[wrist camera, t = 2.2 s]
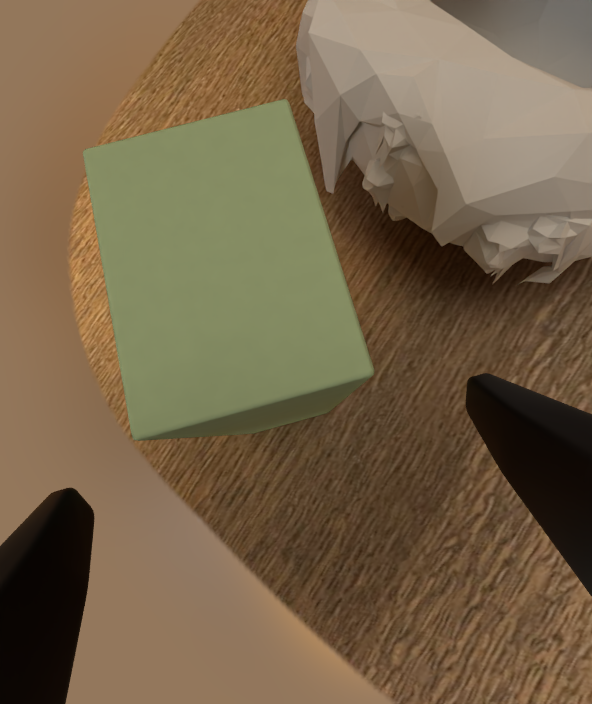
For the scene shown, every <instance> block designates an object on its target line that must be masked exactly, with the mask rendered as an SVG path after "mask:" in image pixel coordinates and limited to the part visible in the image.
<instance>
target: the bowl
mask: <svg viewBox="0 0 592 704" xmlns="http://www.w3.org/2000/svg"><path fill="white" fill-rule="evenodd" d="M296 50H297V58H298V65H299V73H300V81H301V89H302V96H303V97H304V103H305V104H306V105H307V106H308V107H309V108H310V109H311V110H312V112H313V113H314V119H315V127H316V133H317V139H318V145H319V151H320V156H321V162H322V168H323V174H324V180H325V186H326V191H328V192H330V193H332V194H333V192H334V188H335V184H336V182H337V180H338V179H339V177H340V176H341V174H342V173H343V171H344V169H345V168H346V166H347V165H348V163H349V162H350V160H353V161H354V162H355V163H356V165H357V166H358V167H359V168H360V170H361V171H362V172H363V174H364V175H365V176H364V179H363V183H362V185H363V189H365V190H367V191H368V192H369V193H370V194H371V195H372V196H373V200H374V203H375V206H376V205H377V203H378V202H379V204H380V207H381V210H382V213H383V211H384V209H385V206H386V204H387V203H388V204H389V208H388V213H389V216H390V217H391V219H392V220H393V221H396V220H401V219H404V218H408V219H410V220H411V221H413V222H414V223H415V224H417V225H418V226H420V227H421V228H422V229H424V230H426V231H428V232H430V233H432V234H433V236H434V237H435V239H436V240H437V241H438V243H439V244H440V245H441V246H444V245H445V244H447V243H449V242H450V243H452V244H455V245H459V246H463V247H464V251H465V252H466V253H467V254H468V255H469V256H470V257H471V258H472V259H473V260H474V261H475V262H476V263H477V264H478V265H479V266H480V267H481V268H482V269H483V270H484V271H485V272H486V274H488V273H490V272H492V271H494V270H495V271H494V272H493V274H492V275H494V274H495V273H497V275H496V277H495V279H494V281H493V283H494V282H496V281H497V280H498V279H499V278H500V277H501V276H502V275H503V274H504V273H505V272H506V271H507V270H508V269H509V268H510V267H511V266H512V265H513V264H514V263H516V262H517V261H519V260H521V259H522V258H525V259H530V260H535V261H540V262H552V265H551V266H544V267H542V268H540V269H539V270H537V271H536V272H534V273H533V274H532V275H530V276H529V277H527V278H526V279H524V280H523V281H522V282H524V281H530V282H540V283H551V282H552V281H553V280H554V279H555V278H556V277H558V276H559V275H560V274H561V273H562V272H563V271H565V270H566V269H567V268H568V267H569V266H570V265H571V264H572V263H573V262H574V261H576V260H581V259H585V258H589V257H592V0H308V1H307V4H306V6H305V8H304V10H303V13H302V18H301V23H300V28H299V33H298V38H297V43H296ZM492 275H491V276H492ZM491 276H490V277H491ZM522 282H520V283H522ZM520 283H519V284H520ZM517 285H518V284H517Z"/></svg>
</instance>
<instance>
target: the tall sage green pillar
mask: <svg viewBox="0 0 592 704" xmlns="http://www.w3.org/2000/svg"><path fill="white" fill-rule="evenodd" d="M83 156H84V162H85V168H86V174H87V179H88V185H89V191H90V197H91V203H92V208H93V214H94V220H95V226H96V231H97V237H98V243H99V249H100V254H101V260H102V266H103V272H104V278H105V283H106V289H107V295H108V301H109V306H110V312H111V318H112V324H113V330H114V335H115V341H116V347H117V353H118V358H119V364H120V370H121V376H122V382H123V387H124V393H125V399H126V405H127V410H128V416H129V422H130V428H131V434H132V437H133V439H134V440H138V441H141V440H157V439H173V438H190V437H206V436H222V435H239V434H254V433H257V432H261V431H264V430H268V429H272V428H275V427H279V426H283V425H286V424H290V423H293V422H297V421H301V420H304V419H308V418H312V417H315V416H319V415H322V414H326V413H328V412H330V411H331V410H332V409H333V408H334V407H336V406H337V405H338V404H339V403H340V402H342V401H343V400H344V399H345V398H346V397H348V396H349V395H350V394H351V393H352V392H354V391H355V390H356V389H357V388H358V387H360V386H361V385H362V384H363V383H364V382H366V381H367V380H368V379H369V378H370V377H372V376H373V375H374V367H373V364H372V361H371V358H370V355H369V352H368V349H367V345H366V342H365V339H364V336H363V333H362V330H361V327H360V323H359V320H358V317H357V314H356V311H355V308H354V305H353V301H352V298H351V295H350V292H349V289H348V286H347V283H346V279H345V276H344V273H343V270H342V267H341V264H340V261H339V257H338V254H337V251H336V248H335V245H334V242H333V239H332V235H331V232H330V229H329V226H328V223H327V220H326V217H325V213H324V210H323V207H322V204H321V201H320V198H319V195H318V192H317V188H316V185H315V182H314V179H313V176H312V173H311V170H310V166H309V163H308V160H307V157H306V154H305V151H304V148H303V144H302V141H301V138H300V135H299V132H298V129H297V126H296V122H295V119H294V116H293V113H292V110H291V107H290V104H289V102H288V101H287V100H286V99H282V100H279V101H275V102H271V103H267V104H263V105H259V106H255V107H251V108H247V109H243V110H239V111H235V112H231V113H227V114H223V115H219V116H215V117H211V118H207V119H203V120H199V121H195V122H191V123H187V124H183V125H179V126H175V127H171V128H168V129H164V130H160V131H156V132H152V133H148V134H144V135H140V136H136V137H132V138H128V139H124V140H120V141H116V142H112V143H108V144H104V145H100V146H96V147H92V148H88V149H85V150H84V151H83Z"/></svg>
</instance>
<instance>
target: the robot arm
mask: <svg viewBox="0 0 592 704" xmlns="http://www.w3.org/2000/svg"><path fill="white" fill-rule="evenodd" d="M466 409H467V412H468V414H469V416H470V418H471V420H472V421H473V423H474V425H475V427H476V428H477V430H478V432H479V434H480V435H481V437H482V439H483V441H484V442H485V444H486V446H487V448H488V449H489V451H490V453H491V455H492V456H493V458H494V460H495V462H496V463H497V465H498V467H499V468H500V470H501V472H502V473H503V475H504V476H505V477H506V479H507V480H508V482H509V483H510V485H511V486H512V487H513V489H514V490H515V492H516V493H517V494H518V496H519V497H520V498H521V500H522V501H523V503H524V504H525V505H526V507H527V508H528V509H529V511H530V512H531V514H532V515H533V516H534V518H535V519H536V520H537V522H538V523H539V525H540V526H541V527H542V529H543V530H544V531H545V533H546V534H547V536H548V537H549V538H550V540H551V541H552V543H553V544H554V545H555V547H556V548H557V549H558V551H559V552H560V554H561V555H562V556H563V558H564V559H565V560H566V562H567V563H568V565H569V566H570V567H571V569H572V570H573V571H574V573H575V574H576V576H577V577H578V578H579V580H580V581H581V582H582V584H583V585H584V587H585V588H586V589H587V591H588V592H589V594H590V595H591V596H592V414H589V413H587V412H584V411H582V410H579V409H577V408H574V407H572V406H569V405H567V404H564V403H562V402H559V401H557V400H554V399H551V398H549V397H546V396H544V395H541V394H539V393H536V392H534V391H531V390H529V389H526V388H524V387H521V386H519V385H516V384H514V383H511V382H509V381H506V380H504V379H501V378H499V377H496V376H494V375H491V374H487V373H485V374H481V375H477V376H473V377H471V378H469V379H468V381H467V392H466ZM93 529H94V513H93V510H92V508H91V506H90V505H89V504H88V503H87V502H86V501H85V499H84V498H83V497H82V496H81V495H80V494H79V493H78V491H77V490H75V489H73V488H66V489H63V490H59V491H56V492H53V493H51V494H50V495H49V496H48V497H47V498H46V499H45V500H44V501H43V502H42V503H41V504H40V505H39V506H38V507H37V508H36V509H35V510H34V511H33V512H32V513H31V515H30V516H29V517H28V518H27V519H26V520H25V521H24V522H23V523H22V524H21V525H20V526H19V527H18V528H17V529H16V530H15V531H14V532H13V533H12V534H11V535H10V536H9V538H8V539H7V540H6V541H5V542H4V543H3V544H2V545H1V546H0V704H65V703H66V698H67V693H68V688H69V682H70V677H71V672H72V667H73V662H74V657H75V652H76V647H77V642H78V636H79V632H80V627H81V621H82V616H83V611H84V606H85V601H86V595H87V589H88V581H89V572H90V571H89V570H90V560H91V550H92V540H93Z"/></svg>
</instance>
